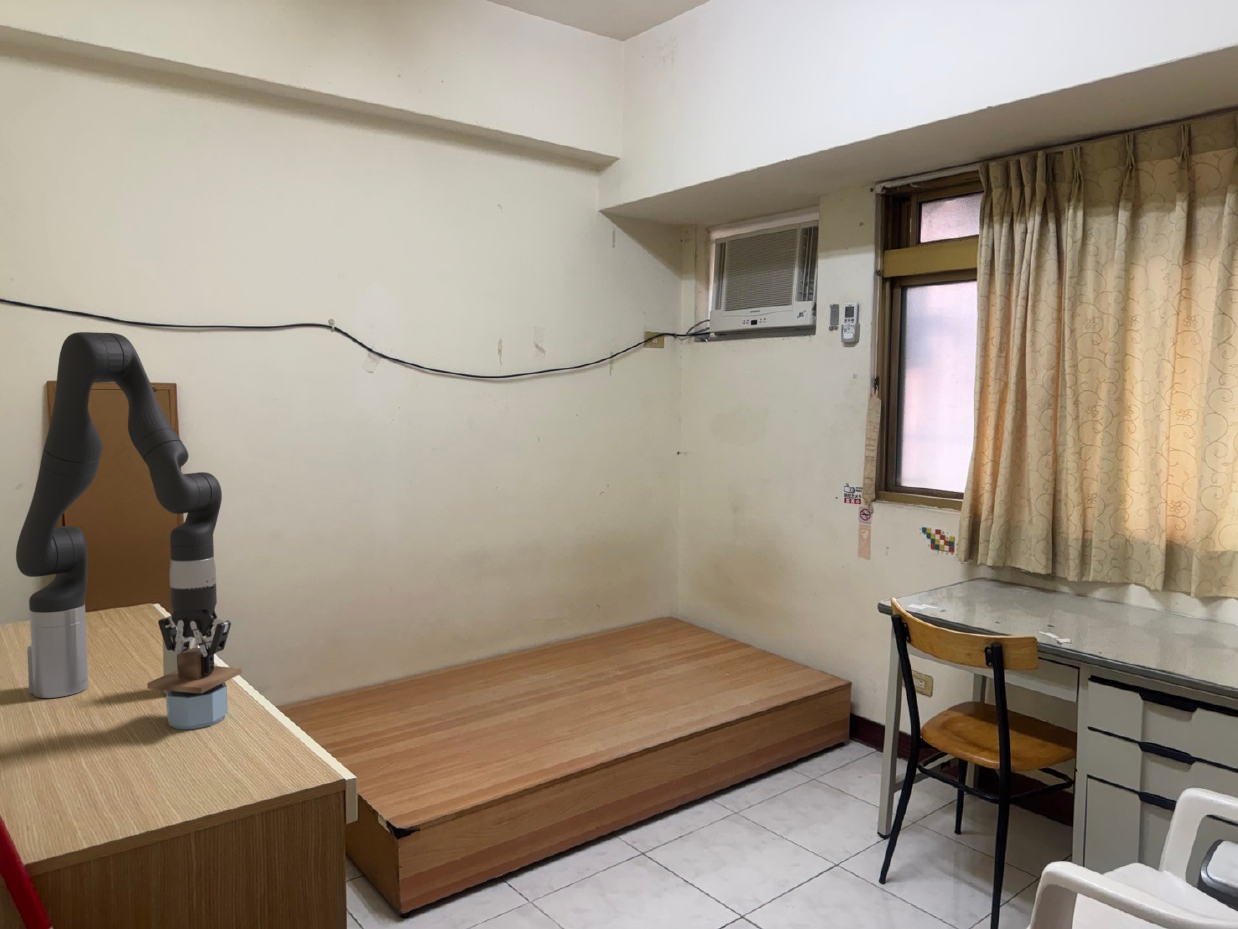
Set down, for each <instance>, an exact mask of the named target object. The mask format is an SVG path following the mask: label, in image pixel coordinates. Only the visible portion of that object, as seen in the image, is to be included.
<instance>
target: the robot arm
mask: <svg viewBox="0 0 1238 929" xmlns="http://www.w3.org/2000/svg"><path fill="white" fill-rule="evenodd" d="M57 366H58V367H57V375H56V383H55V384H56V385H55V393H54V400H53V407H52V410H51V411H52V412H51V416H50V417H51V418H50V421H49V427H48V430H47V436H46V440H45V443H44V446H43V451H42V455H41V457H40V464H39V469H38V475H37V480H36V483H35V487H34V492H33V496H32V499H31V502H30V505H29V508H28V510H27V513H26V517H25V520H24V522H23V526H22V528H21V531H20V533H19V536H18V540H17V544H16V550H15V561H16V566H17V568H18V570H19V571H20V572H21V574H22V575H24V576H26V577H29V578H36V577H38V578H39V577H45V576H47V577H48V576H51V575H55V576H54V578H53V579H52V580H51V582H50V583H48V584H47V585H46V586H44V587H43V588H41V589H39V590H37V591H36V592H34V593H32V594H31V595H30V596H29V599H28V600H29V601H28V607H29V622H30V645H29V646H28V647H27V649H26V650H27V655H26V656H27V671H28V672H27V673H28V691H29V692H28V693H29V694H32V695H33V696H34V697H36V698H41V699H53V698H61V697H62V698H63V697H66V696H71V695H72V696H73V695H75V694H77V693H80V692H83V691H85V690H86V689H87V688H89V671H88V647H87V646H88V644H87V642H88V641H87V620H86V599H85V598H86V594H87V589H88V557H89V556H88V552H89V551H88V543H87V541H86V537H85V534H84V532H83V531H82V530H81V529H80V528H78V527H77V526H73V525H65V526H57V525H58V523H59V521H60V520H61V518H62V516H63V515H64V513H65V512H66V511H67V510H68V509H69V508H70V507H71V506H72V505H73V504H74V503H75V502H76V501H77V499H79V497H81V496H82V495H83V494H84V492H86V490H87V489H88V488H89V487H90V486H91V485H92V483H93V481H94V480H95V478H96V476H97V473H98V469H99V466H100V462H101V461H100V460H101V457H102V451H103V443H102V439H101V436H100V434H99V432H98V430H97V428H96V426H95V424H94V421H93V419H92V418H91V416H90V413H89V412H90V411H89V401H90V395H91V394H90V393H91V391H92V387H93V385H94V383H95V384H96V383H98V384H99V383H100V384H101V383H115V384H116V385H117V386H118V387H119V388H120V390H121V392H123V393H124V395H125V398H126V400H127V404H128V414H127V430H128V435H129V438H130V440H131V442H132V445H133V446H134V448H135V449H136V451H137V452H138V454H139V455H140V457H141V459H142V460H143V462H144V464H146V467H148V470H149V471H148V472H149V475H150V480H151V483H152V486H153V489H154V494H155V497H156V500H157V501H158V503H159V504H160V506H161V507H163V509H164V510H166V511H167V512H169V513H172V514H175V515H182V514H183V515H184V514H187V515H186V518H185V520H184V522H183V523H181V524H179V525H178V526H175V527H174V528H173V529H172V530H171V532H170V535H169V541H170V542H169V543H170V544H169V545H170V547H169V548H170V551H169V552H170V565H169V594H170V595H169V596H170V598H169V599H170V600H169V601H170V608H171V610H172V614H171V615H170V616H166V617H164V618H160V619H159V620H158V621H157V625H158V627H159V629H160V633H161V636H162V640H163V639H164V642H165V645H166V648H167V650H172V651H174V652H175V653H176V654H177V668H178V654H179V653H181V652H184V651H186V650H189V649H190V645H191V641H192V639H193V638H195V640H196V644H197V645H198V648H200V651H201V655H202V657H201V675H202V676H208V675H210V674H211V673H212V671H214V666H215V654H217V653H218V652H221V651H224V650H225V647H226V643H227V640H228V635H229V633H230V629H231V626H232V622H231V621H230V620H225V621H223V620H222V619H219V618H218V616H217V613H216V611H215V610H216V609H215V608H216V606H217V604H218V600H217V597H218V596H217V570H216V568H217V567H216V562H215V557H214V556H215V555H214V554H215V551H214V547H215V546H214V533H215V529H216V525H217V521H218V517H219V513H220V509H221V506H222V505H221V504H222V500H223V493H222V487H221V484H220V482H219V480H218V479H217V477H216V476H214V475H213V474H212V473H210V472H204V471H201V472H200V471H199V472H190V473H183V472H182V471H181V467H183V466H184V465H185V464H186V463H187V462H188V460H189V456H190V455H189V451H188V449H187V448H186V446H185V444H184V442H183V441H182V440H181V438H180V437H179V436H178V434H177V432H176V431H175V429H174V428H173V426H172V424H171V423H170V422H169V420H168V418H167V417H166V415H165V413H164V411H163V409H162V408H161V405H160V402H159V401H158V398H157V396H156V394H155V392H154V389H153V386H152V384H151V381H150V379H149V377H148V374H147V372H146V370H145V367H144V365H143V363H142V360H141V358H140V355H138V352H137V350H136V349H135V347H134V345H133V343H132V342H131V341H130V340H129V339H128V338H127V337H125V336H124V335H122V334H120V333H115V332H97V331H96V332H94V331H91V332H89V331H78V332H73V333H71V334H70V335H69V334H68V336H67V337H66V338H65V339H64V341H63V343H62V345H61V349H60V352H59V357H58V364H57ZM176 627H177V629H176ZM171 637H172V640H173V642H172V640H171Z"/></svg>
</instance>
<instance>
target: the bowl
mask: <svg viewBox="0 0 1238 929" xmlns="http://www.w3.org/2000/svg"><path fill="white" fill-rule="evenodd" d="M165 694H166V695H165V696H166V698H165V699H166V718H167V721H168V725H169V726H170V728H172V729H176V730H181V731H182V730H186V731H187V730H197V729H204V728H206V727H210V726H214V725H216V724H218V723H220V722H222V721H223V720H224V719H225V718H226V715H228V713H229V712H228V707H229V706H228V686H227V684H226V682H224V683H222V684H220V685H218V686H216V687H213V688H211V689H209V690H207V691H205V692H203V693H190V692H179V691H168V690H166V692H165ZM224 717H225V718H224Z"/></svg>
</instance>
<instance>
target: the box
mask: <svg viewBox="0 0 1238 929" xmlns="http://www.w3.org/2000/svg"><path fill="white" fill-rule="evenodd" d="M176 629H177V627H176ZM171 640H172V637H171ZM172 642H173V640H172ZM191 648H199V645H197V644H196V640H195V638H193V639H192V641H191V645H190V649H191ZM162 656H163V657H162V658H163V659H162V660H163V661H162V662H163V676H165V675H167V674H169V673H171V672H174V671H176V670H178V668H177V654H176V653H175V652H174V651H172V650H167V648H166V645H165V642H164V639H163V638H162ZM163 693H166V690H163Z"/></svg>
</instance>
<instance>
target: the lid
mask: <svg viewBox="0 0 1238 929" xmlns="http://www.w3.org/2000/svg"><path fill="white" fill-rule="evenodd" d="M201 657H202V655H201V651H200V647H198V648H191V649H189V650H186V651H184V652H181V653H179V654H178V670H176V671H174V672H171V673H169V674H167V675H165V676H164V675H163V676H160V677H158V678H155V679H153V680H151V681H148V682H147V683H146V685H147V686H146V689H150V690H158V691H160V690H161V691H164V690H168V691H179V692H190V693H203V692H205V691H207V690H209V689H211V688H213V687H216V686H218V685H220V684H222V683H224V682H225V683H226V682H227V681H229V680H231V679H233V678H236V677H237V676H239V675H241V674H243V673H242V672H243V671H242V668H240V667H230V666H228V667H227V666H217V665H214V671H212V673H211V674H210V675H208V676H202V675H201Z"/></svg>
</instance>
